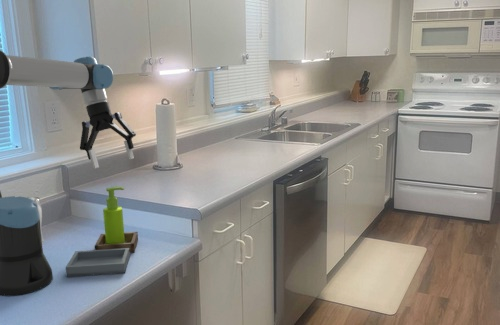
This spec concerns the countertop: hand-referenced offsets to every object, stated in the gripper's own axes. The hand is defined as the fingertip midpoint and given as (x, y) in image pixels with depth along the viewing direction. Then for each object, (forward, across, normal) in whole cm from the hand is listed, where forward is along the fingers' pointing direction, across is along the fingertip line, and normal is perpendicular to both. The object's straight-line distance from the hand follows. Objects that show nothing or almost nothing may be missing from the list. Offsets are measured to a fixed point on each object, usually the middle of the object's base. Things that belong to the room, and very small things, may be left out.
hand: (113, 163), depth 169 cm
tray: (+28, -1, +27) cm, 39 cm away
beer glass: (+19, +30, +11) cm, 38 cm away
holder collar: (+26, +1, +12) cm, 29 cm away
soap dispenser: (+26, +1, +12) cm, 29 cm away
